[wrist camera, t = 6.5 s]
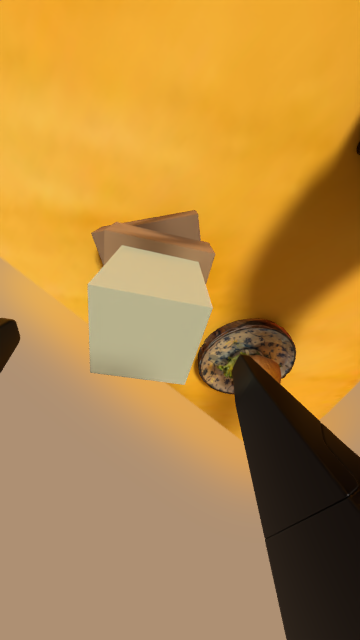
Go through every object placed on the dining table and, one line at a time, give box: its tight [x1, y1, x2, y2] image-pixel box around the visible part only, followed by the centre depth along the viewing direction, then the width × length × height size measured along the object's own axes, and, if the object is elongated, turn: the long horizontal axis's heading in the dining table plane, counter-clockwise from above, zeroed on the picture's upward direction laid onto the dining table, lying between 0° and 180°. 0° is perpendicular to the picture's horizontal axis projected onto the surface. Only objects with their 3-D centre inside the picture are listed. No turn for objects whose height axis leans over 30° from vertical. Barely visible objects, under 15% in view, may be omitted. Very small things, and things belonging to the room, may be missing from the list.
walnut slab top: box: [104, 222, 215, 285], centre depth 16 cm, size 7×7×3 cm
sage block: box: [88, 245, 213, 385], centre depth 12 cm, size 5×5×6 cm
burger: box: [198, 319, 296, 394], centre depth 23 cm, size 12×12×8 cm
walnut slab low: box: [91, 210, 200, 265], centre depth 18 cm, size 8×8×3 cm
